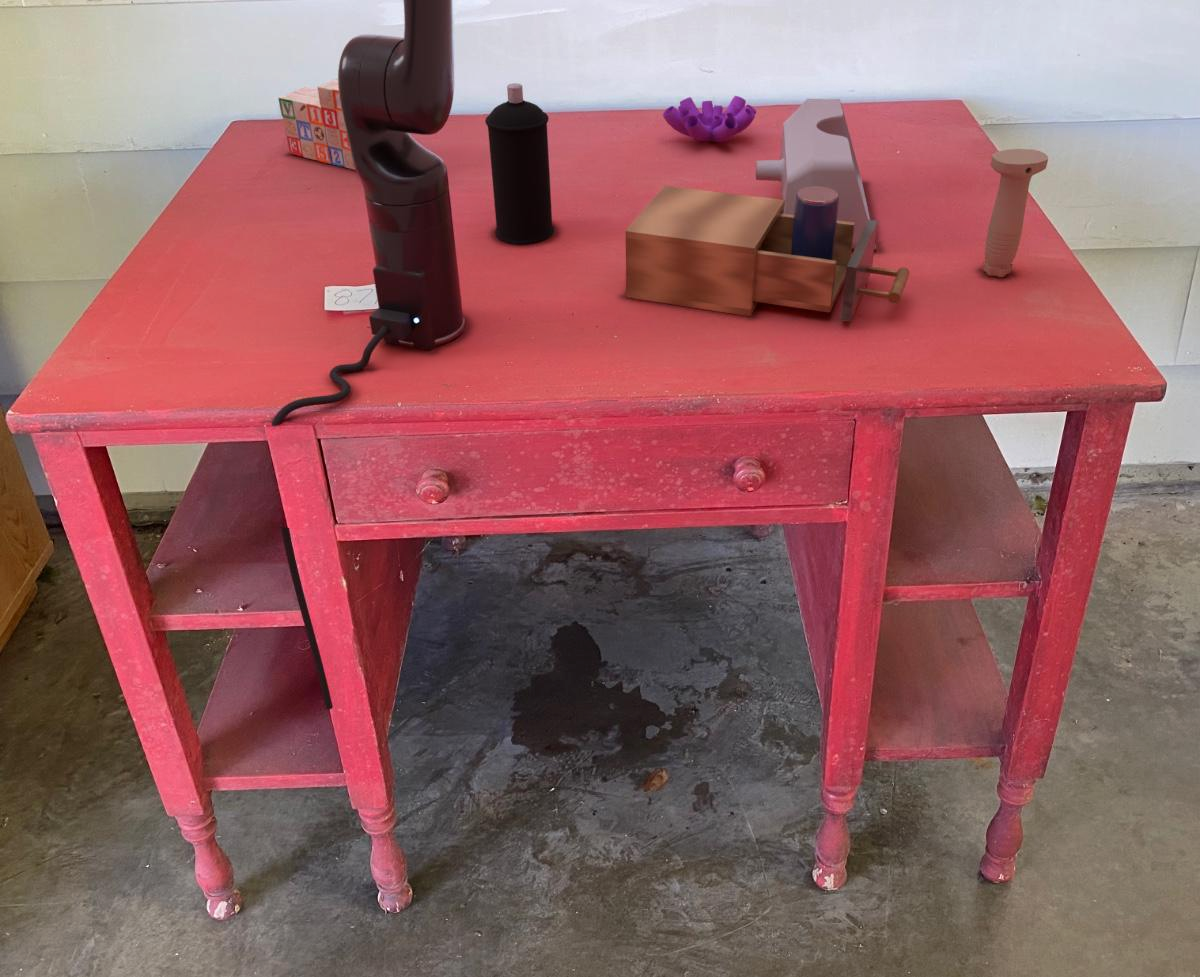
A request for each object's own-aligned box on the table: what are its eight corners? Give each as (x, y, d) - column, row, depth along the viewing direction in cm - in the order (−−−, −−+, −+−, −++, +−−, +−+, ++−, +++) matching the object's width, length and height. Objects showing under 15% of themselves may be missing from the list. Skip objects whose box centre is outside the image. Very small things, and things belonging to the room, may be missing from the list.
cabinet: (780, 264, 144) (785, 199, 139) (750, 316, 133) (754, 248, 128) (663, 248, 149) (664, 185, 144) (626, 297, 138) (625, 230, 133)
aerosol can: (546, 247, 151) (538, 97, 139) (487, 243, 152) (474, 94, 140) (560, 222, 157) (553, 76, 145) (504, 218, 158) (492, 74, 146)
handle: (1029, 278, 140) (1055, 161, 131) (981, 283, 139) (1004, 166, 130) (1010, 261, 143) (1035, 146, 134) (963, 267, 142) (985, 151, 134)
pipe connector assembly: (754, 163, 182) (761, 128, 173) (662, 164, 182) (664, 130, 173) (752, 103, 185) (758, 66, 176) (661, 104, 186) (663, 67, 176)
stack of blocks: (288, 155, 181) (273, 77, 174) (315, 143, 185) (302, 66, 178) (388, 179, 172) (377, 98, 164) (415, 165, 176) (404, 86, 168)
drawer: (911, 277, 138) (919, 225, 134) (893, 328, 128) (901, 273, 124) (757, 256, 144) (760, 206, 140) (728, 303, 134) (731, 250, 130)
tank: (753, 179, 168) (758, 95, 160) (862, 181, 166) (872, 96, 159) (753, 251, 148) (759, 158, 140) (877, 253, 146) (889, 160, 139)
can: (825, 292, 133) (834, 204, 127) (784, 286, 135) (791, 199, 128) (834, 274, 137) (843, 188, 131) (794, 268, 139) (801, 183, 132)
